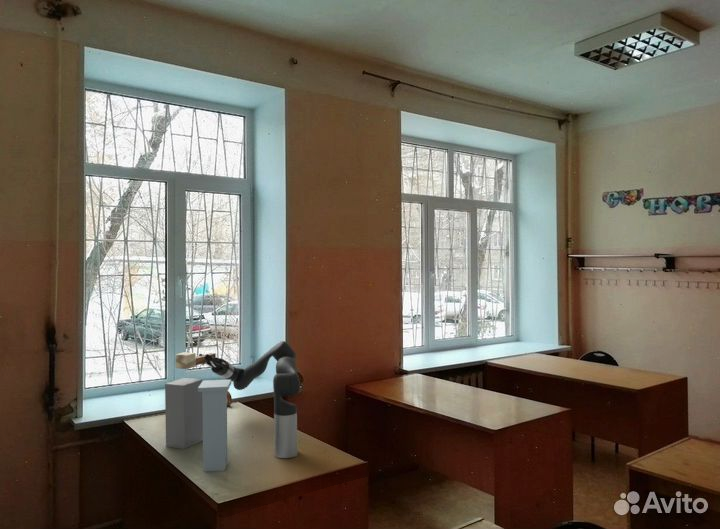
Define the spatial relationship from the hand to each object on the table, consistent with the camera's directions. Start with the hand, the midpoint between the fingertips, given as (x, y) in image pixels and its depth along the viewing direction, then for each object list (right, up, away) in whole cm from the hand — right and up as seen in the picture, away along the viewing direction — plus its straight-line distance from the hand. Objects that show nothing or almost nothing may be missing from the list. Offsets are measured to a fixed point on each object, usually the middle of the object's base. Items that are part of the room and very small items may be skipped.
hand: (202, 356), depth 243 cm
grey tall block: (-4, -36, -12) cm, 38 cm away
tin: (-3, -36, +48) cm, 60 cm away
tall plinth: (+16, -36, -37) cm, 55 cm away
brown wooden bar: (-1, -3, -2) cm, 4 cm away
